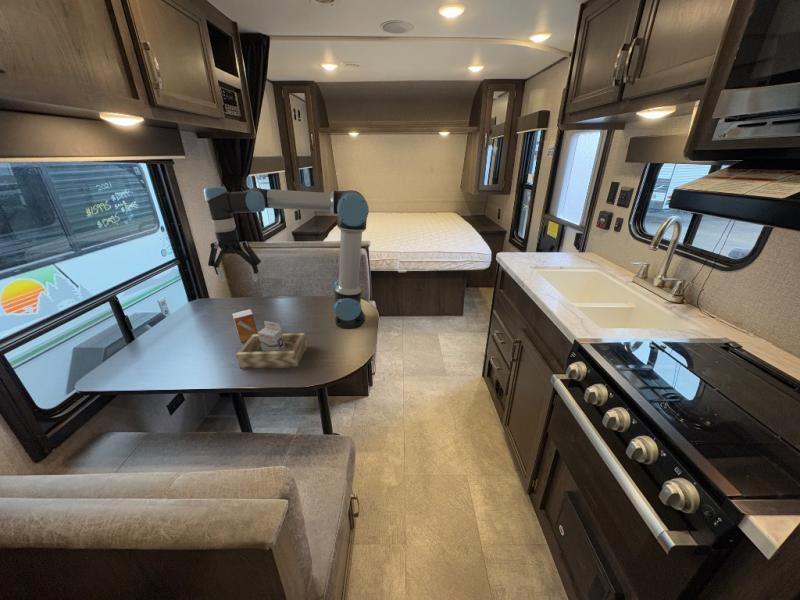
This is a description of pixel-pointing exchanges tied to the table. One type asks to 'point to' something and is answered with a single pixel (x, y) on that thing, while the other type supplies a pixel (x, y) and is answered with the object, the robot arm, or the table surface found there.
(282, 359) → the crate
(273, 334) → the ink box
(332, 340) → the table surface
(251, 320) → the small box
